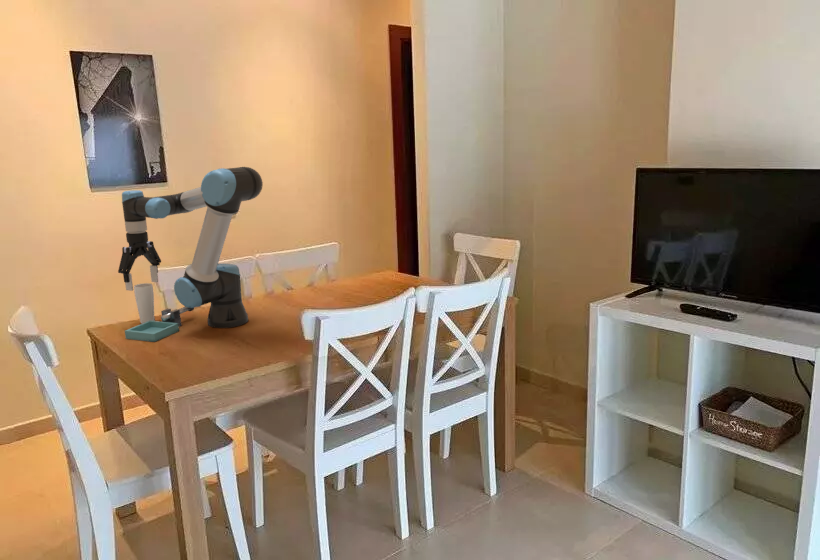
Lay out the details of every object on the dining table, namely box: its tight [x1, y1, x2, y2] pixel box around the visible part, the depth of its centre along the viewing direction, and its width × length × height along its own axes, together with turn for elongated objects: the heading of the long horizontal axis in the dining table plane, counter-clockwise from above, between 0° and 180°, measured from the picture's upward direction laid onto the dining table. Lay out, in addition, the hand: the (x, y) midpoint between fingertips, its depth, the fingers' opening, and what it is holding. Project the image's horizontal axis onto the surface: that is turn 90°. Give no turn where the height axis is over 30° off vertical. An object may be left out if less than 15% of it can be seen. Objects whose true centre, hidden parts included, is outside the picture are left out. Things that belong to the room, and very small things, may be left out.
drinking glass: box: [133, 282, 156, 324], centre depth 249 cm, size 7×7×15 cm
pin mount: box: [160, 307, 182, 328], centre depth 244 cm, size 6×4×6 cm, turn 70°
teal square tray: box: [124, 320, 180, 343], centre depth 235 cm, size 13×13×3 cm
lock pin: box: [160, 306, 195, 321], centre depth 247 cm, size 3×16×3 cm, turn 160°
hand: (142, 286), depth 247 cm, fingers open, 13 cm apart
